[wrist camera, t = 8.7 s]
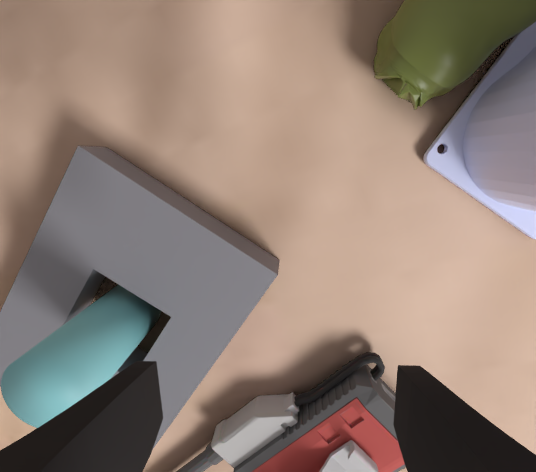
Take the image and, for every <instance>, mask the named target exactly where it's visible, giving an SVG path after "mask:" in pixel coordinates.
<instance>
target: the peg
mask: <svg viewBox="0 0 536 472" xmlns="http://www.w3.org/2000/svg"><path fill="white" fill-rule="evenodd" d="M160 314H161V310H159V309H157V308H156V307H154V306H153V305H151V304H149V303H148V302H146V301H144V300H143V299H141V298H140V297H138V296H136V295H135V294H133V293H132V292H130V291H128V290H127V289H125V288H123V287H122V286H120V285H119V284H118V285H117V286H115V287H114V288H113V289H111V290H110V291H109V292H107V293H106V294H105V295H103V296H102V297H101V298H99V299H98V300H96V301H95V302H94V303H92V304H91V305H90V306H88V307H87V308H86V309H84V310H83V311H82V312H80V313H79V314H78V315H76V316H75V317H73V318H72V319H71V320H69V321H68V322H67V323H65V324H64V325H63V326H61V327H60V328H59V329H57V330H56V331H54V332H53V333H52V334H50V335H49V336H48V337H46V338H45V339H44V340H42V341H41V342H40V343H38V344H37V345H36V346H34V347H33V348H31V349H30V350H29V351H27V352H26V353H25V354H23V355H22V356H21V357H19V358H18V359H17V360H15V361H14V362H13V363H11V364H10V365H9V366H8V367H7V368H6V370H5V371H4V373H3V375H2V379H1V391H2V395H3V398H4V400H5V402H6V404H7V406H8V407H9V408H10V410H11V411H12V412H13V413H14V414H15V415H16V416H17V417H18V418H20V419H21V420H22V421H24V422H25V423H27V424H29V425H31V426H34V427H36V428H38V427H40V426H42V425H43V424H45V423H46V422H48V421H49V420H51V419H52V418H54V417H55V416H57V415H58V414H60V413H62V412H63V411H65V410H66V409H68V408H69V407H71V406H72V405H74V404H75V403H77V402H78V401H80V400H81V399H82V398H84V397H85V396H87V395H88V394H90V393H91V392H92V391H94V390H95V389H97V388H98V387H100V386H101V385H103V384H104V383H105V382H107V381H108V380H110V379H111V378H112V376H113V375H114V374H115V373H116V372H117V370H118V369H119V368H120V367H121V365H122V364H123V363H124V362H125V360H126V359H127V358H128V357H129V356H130V354H131V353H132V352H133V351H134V349H135V348H136V347H137V346H138V345H139V343H140V342H141V341H142V340H143V338H144V337H145V336H146V335H147V333H148V332H149V331H150V330H151V329H152V327H153V326H154V325H155V324H156V322H157V321H158V319H159V317H160Z"/></svg>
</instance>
